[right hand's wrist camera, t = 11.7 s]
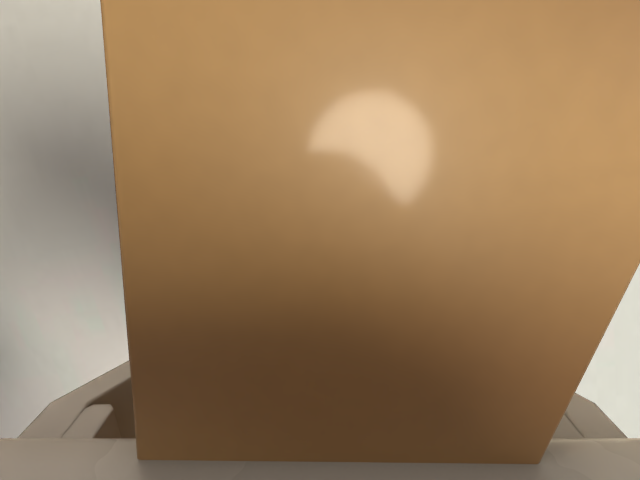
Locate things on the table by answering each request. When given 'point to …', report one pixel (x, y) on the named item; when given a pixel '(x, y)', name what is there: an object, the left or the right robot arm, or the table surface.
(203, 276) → the bar
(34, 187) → the table surface
